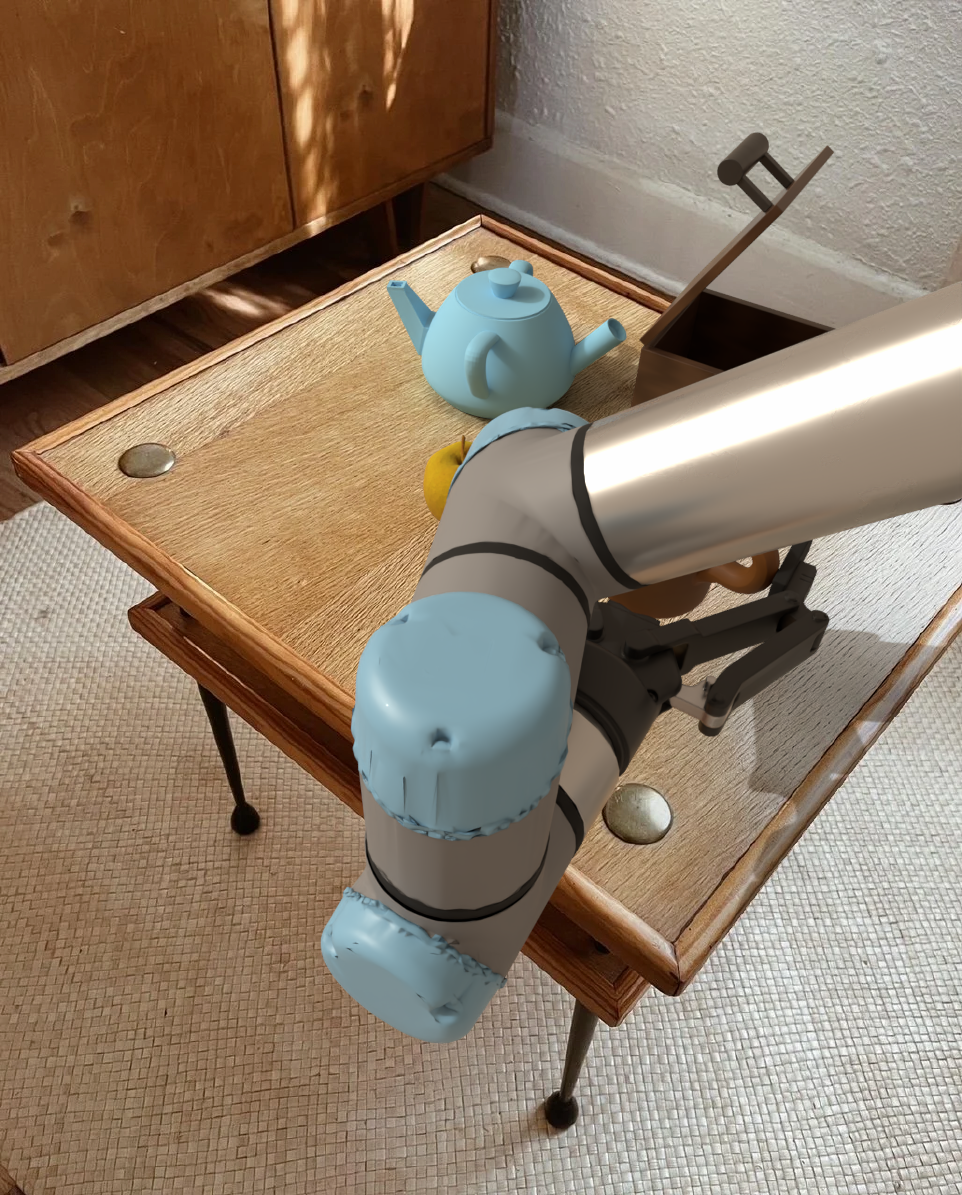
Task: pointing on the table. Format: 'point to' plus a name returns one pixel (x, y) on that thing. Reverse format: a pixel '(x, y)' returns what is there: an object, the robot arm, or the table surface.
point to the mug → (700, 587)
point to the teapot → (499, 341)
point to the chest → (715, 342)
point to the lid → (735, 173)
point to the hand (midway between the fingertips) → (714, 498)
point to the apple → (442, 474)
